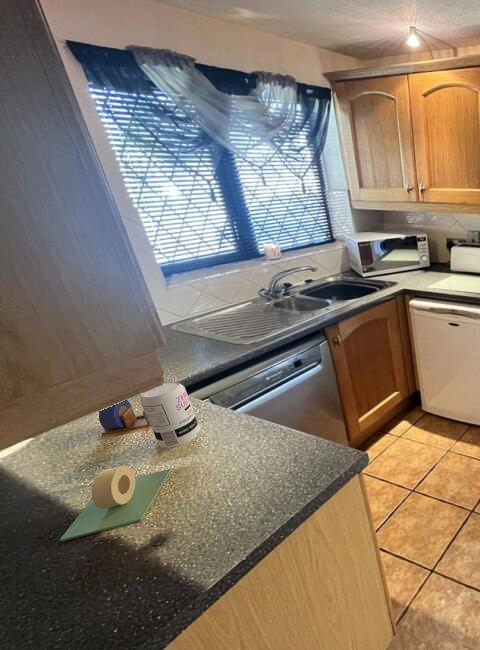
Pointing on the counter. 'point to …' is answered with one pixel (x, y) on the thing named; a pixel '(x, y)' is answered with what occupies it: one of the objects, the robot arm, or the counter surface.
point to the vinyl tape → (114, 416)
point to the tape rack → (129, 424)
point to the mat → (118, 508)
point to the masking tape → (113, 487)
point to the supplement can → (170, 414)
